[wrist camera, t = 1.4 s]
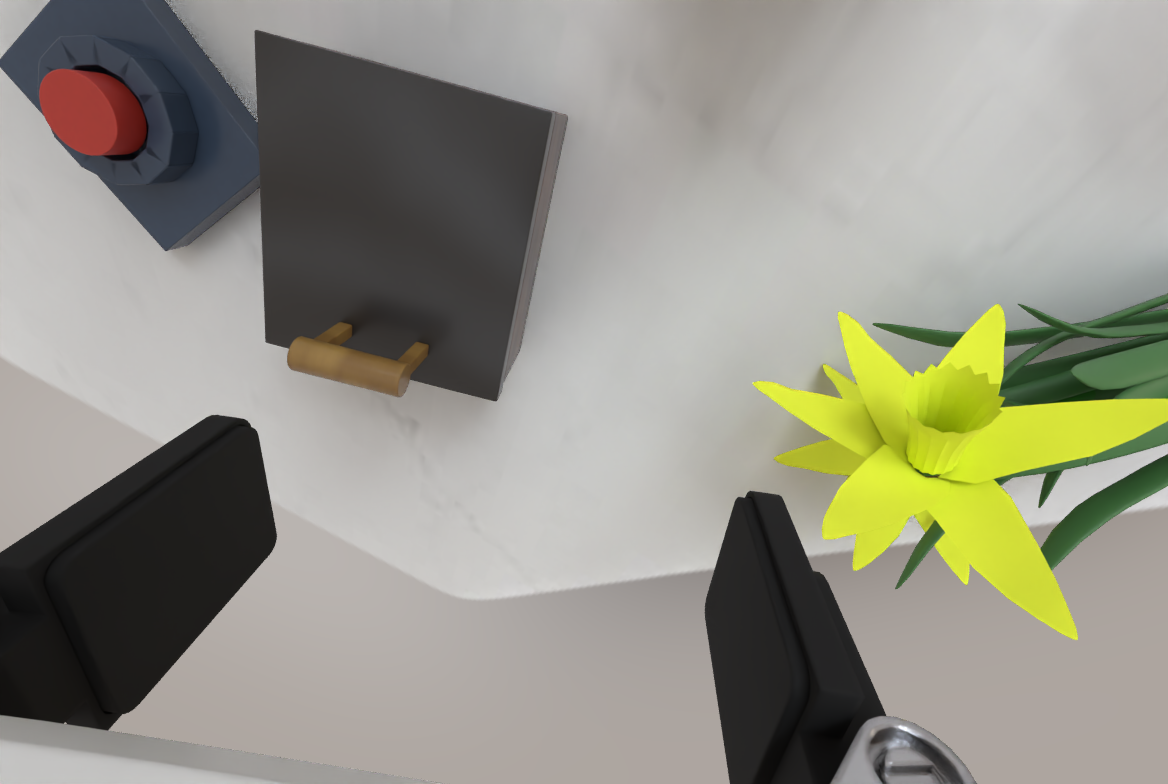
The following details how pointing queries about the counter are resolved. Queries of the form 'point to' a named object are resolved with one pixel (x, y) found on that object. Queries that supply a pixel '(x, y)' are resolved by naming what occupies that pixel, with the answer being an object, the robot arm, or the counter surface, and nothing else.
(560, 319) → the counter surface
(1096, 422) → the daffodil flowers
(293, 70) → the dark slab with handle
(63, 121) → the red push button
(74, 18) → the blue button base
